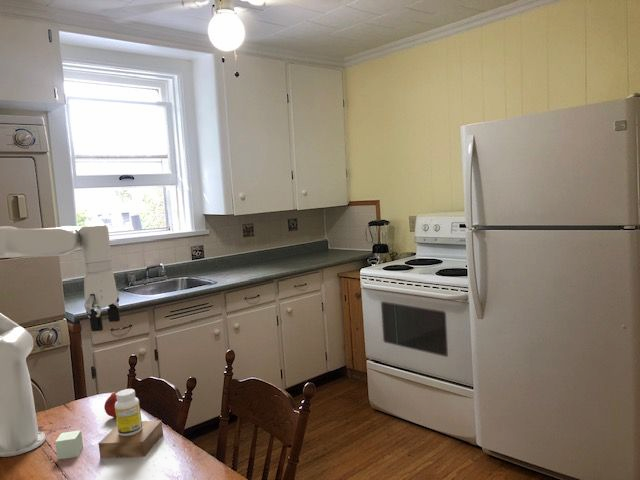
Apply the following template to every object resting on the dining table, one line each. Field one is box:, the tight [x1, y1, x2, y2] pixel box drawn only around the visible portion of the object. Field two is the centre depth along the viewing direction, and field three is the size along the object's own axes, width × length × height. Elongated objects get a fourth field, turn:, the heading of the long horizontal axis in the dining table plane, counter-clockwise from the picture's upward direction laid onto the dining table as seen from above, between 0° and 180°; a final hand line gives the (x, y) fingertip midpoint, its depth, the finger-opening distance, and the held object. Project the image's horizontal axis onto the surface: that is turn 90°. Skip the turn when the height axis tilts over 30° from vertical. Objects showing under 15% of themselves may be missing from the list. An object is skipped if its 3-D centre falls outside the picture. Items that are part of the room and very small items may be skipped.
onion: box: [103, 391, 118, 419], centre depth 158 cm, size 6×6×8 cm
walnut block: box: [97, 419, 164, 459], centre depth 139 cm, size 12×12×4 cm
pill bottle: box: [115, 388, 142, 436], centre depth 138 cm, size 6×6×11 cm
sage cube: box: [54, 429, 84, 460], centre depth 138 cm, size 5×5×5 cm
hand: (106, 325), depth 149 cm, fingers open, 9 cm apart
